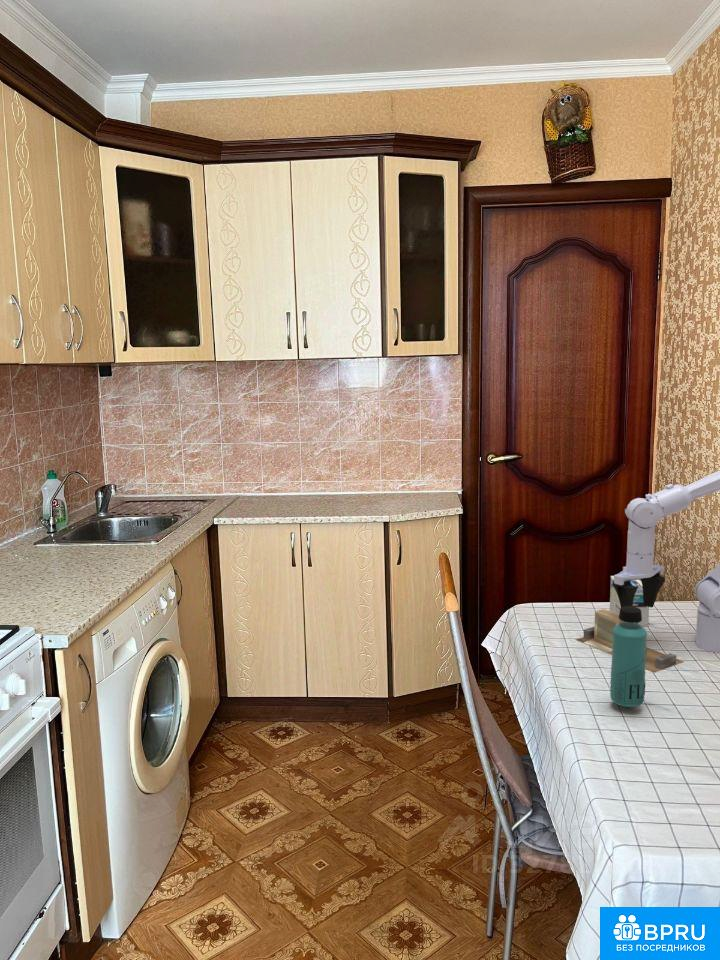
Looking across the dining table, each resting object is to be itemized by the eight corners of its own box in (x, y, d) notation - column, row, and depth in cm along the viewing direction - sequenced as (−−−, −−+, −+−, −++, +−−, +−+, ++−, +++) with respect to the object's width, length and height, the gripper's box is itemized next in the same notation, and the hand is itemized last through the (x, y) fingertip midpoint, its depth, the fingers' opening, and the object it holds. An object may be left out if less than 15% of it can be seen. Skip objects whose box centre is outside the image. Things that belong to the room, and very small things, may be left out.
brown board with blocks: (604, 633, 185) (604, 622, 185) (684, 665, 167) (684, 653, 166) (575, 642, 180) (575, 631, 179) (654, 676, 161) (654, 663, 161)
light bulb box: (649, 630, 187) (651, 588, 185) (621, 630, 187) (623, 588, 185) (634, 614, 198) (636, 574, 196) (608, 615, 198) (609, 575, 196)
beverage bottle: (627, 717, 144) (632, 616, 140) (601, 703, 150) (605, 606, 146) (652, 709, 147) (657, 610, 143) (625, 696, 153) (630, 600, 149)
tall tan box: (602, 637, 181) (603, 608, 180) (626, 646, 175) (628, 617, 174) (593, 639, 179) (594, 611, 178) (617, 649, 174) (619, 620, 172)
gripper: (646, 543, 179) (643, 598, 182) (604, 552, 172) (601, 610, 174) (672, 549, 173) (669, 607, 176) (629, 560, 166) (627, 619, 168)
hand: (637, 609), depth 175 cm, fingers open, 7 cm apart
